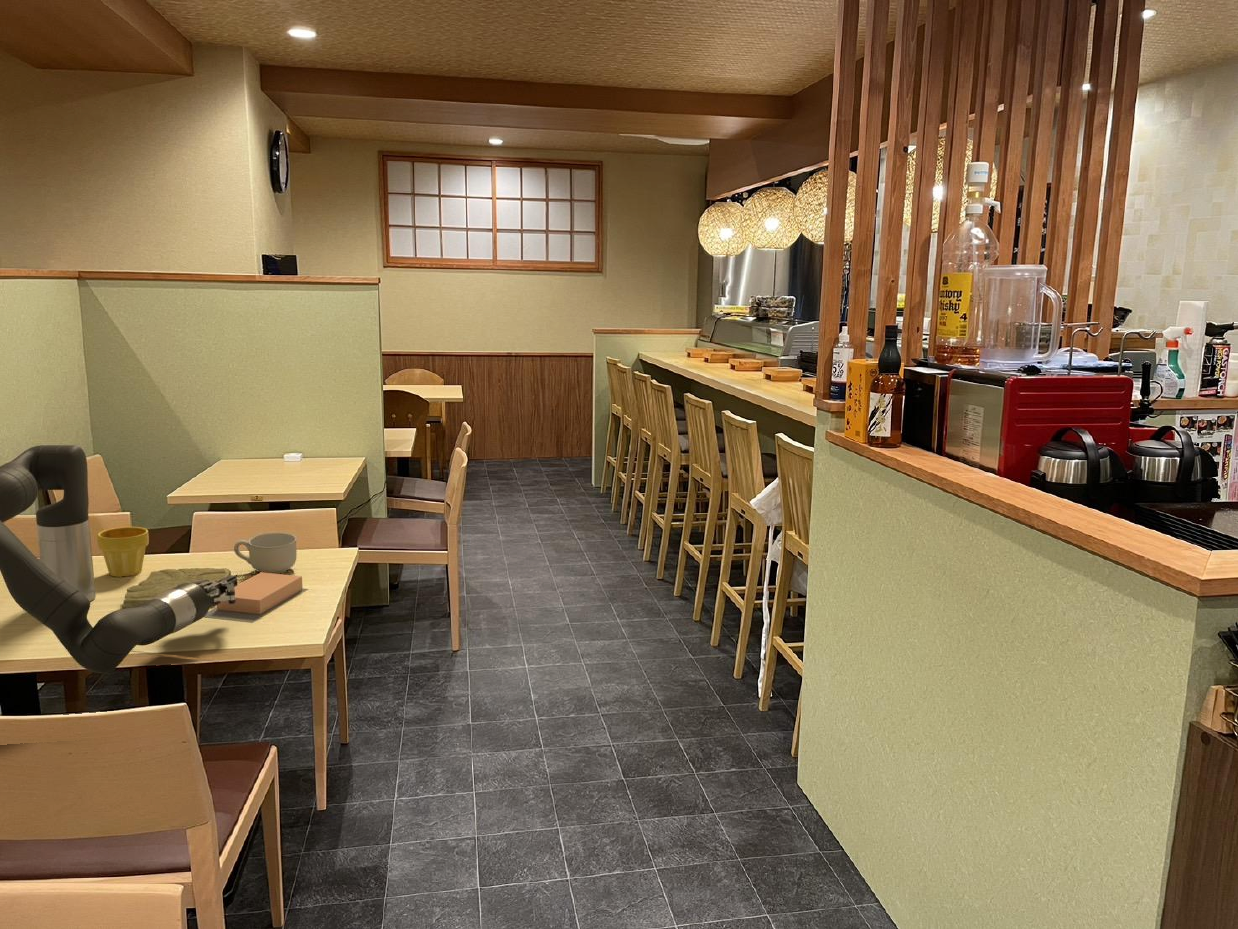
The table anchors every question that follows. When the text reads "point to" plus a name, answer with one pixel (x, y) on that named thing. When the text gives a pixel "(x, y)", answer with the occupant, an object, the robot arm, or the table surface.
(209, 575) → the decorative tile
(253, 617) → the rubber mat
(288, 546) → the teacup
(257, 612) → the terracotta tile
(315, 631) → the table surface
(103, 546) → the plant pot
